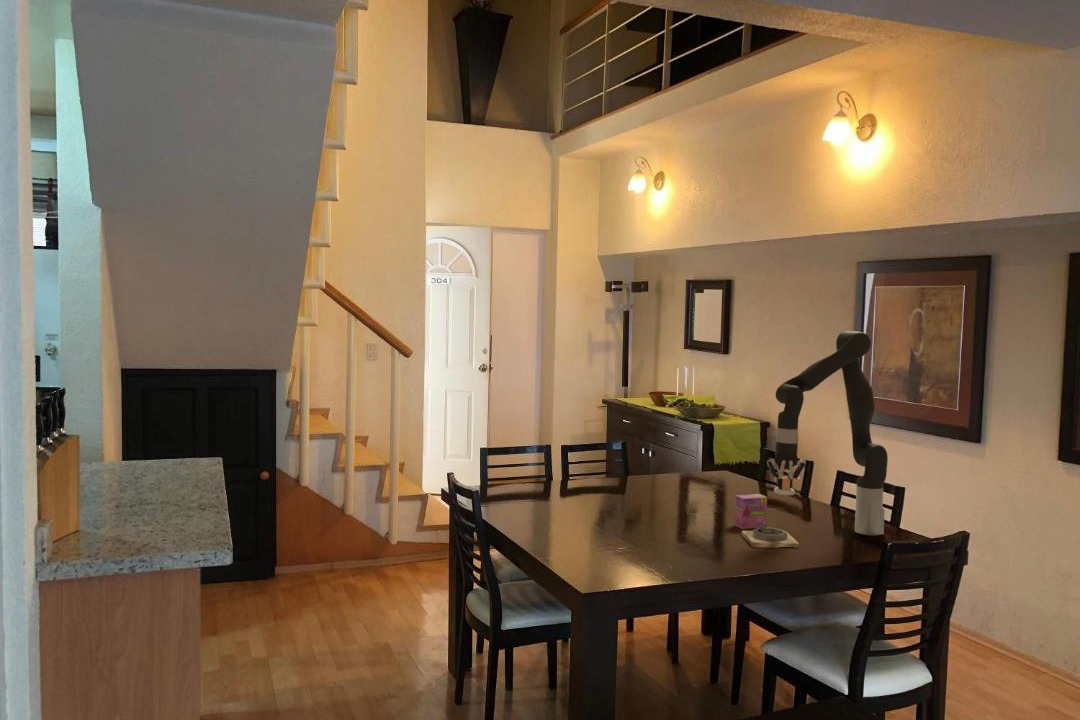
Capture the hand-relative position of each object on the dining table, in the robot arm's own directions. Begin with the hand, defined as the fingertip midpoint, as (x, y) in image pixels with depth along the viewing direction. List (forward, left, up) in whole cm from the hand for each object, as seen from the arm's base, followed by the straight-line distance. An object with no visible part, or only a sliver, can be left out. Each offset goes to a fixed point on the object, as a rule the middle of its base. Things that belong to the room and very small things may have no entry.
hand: (784, 488), depth 307 cm
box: (+8, -16, -18) cm, 25 cm away
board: (+6, +4, -18) cm, 19 cm away
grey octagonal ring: (+6, +4, -16) cm, 18 cm away
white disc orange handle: (0, 0, -2) cm, 2 cm away
